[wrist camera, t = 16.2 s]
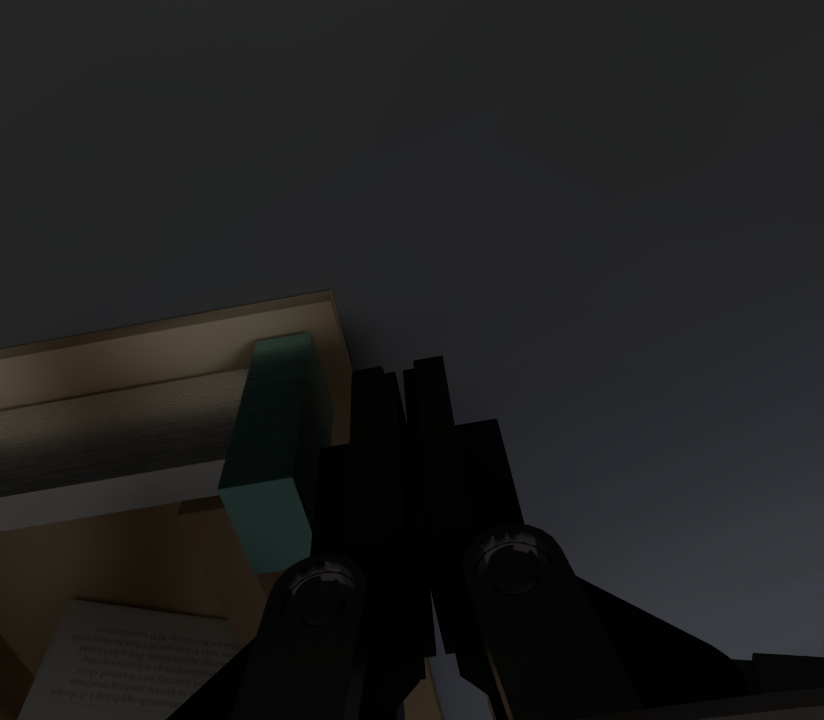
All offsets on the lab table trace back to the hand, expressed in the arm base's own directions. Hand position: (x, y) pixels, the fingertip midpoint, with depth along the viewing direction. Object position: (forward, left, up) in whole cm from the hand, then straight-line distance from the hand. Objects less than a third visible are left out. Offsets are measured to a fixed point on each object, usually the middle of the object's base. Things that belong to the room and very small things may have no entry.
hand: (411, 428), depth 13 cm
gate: (+8, 0, -3) cm, 8 cm away
